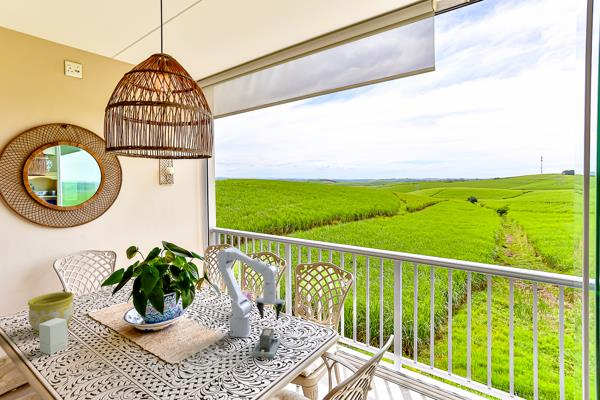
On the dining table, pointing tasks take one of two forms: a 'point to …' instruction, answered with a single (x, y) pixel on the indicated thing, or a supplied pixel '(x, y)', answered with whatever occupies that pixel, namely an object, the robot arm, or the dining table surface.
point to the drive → (266, 340)
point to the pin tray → (263, 354)
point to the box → (247, 294)
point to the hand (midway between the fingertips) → (269, 318)
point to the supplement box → (53, 335)
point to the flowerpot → (50, 308)
